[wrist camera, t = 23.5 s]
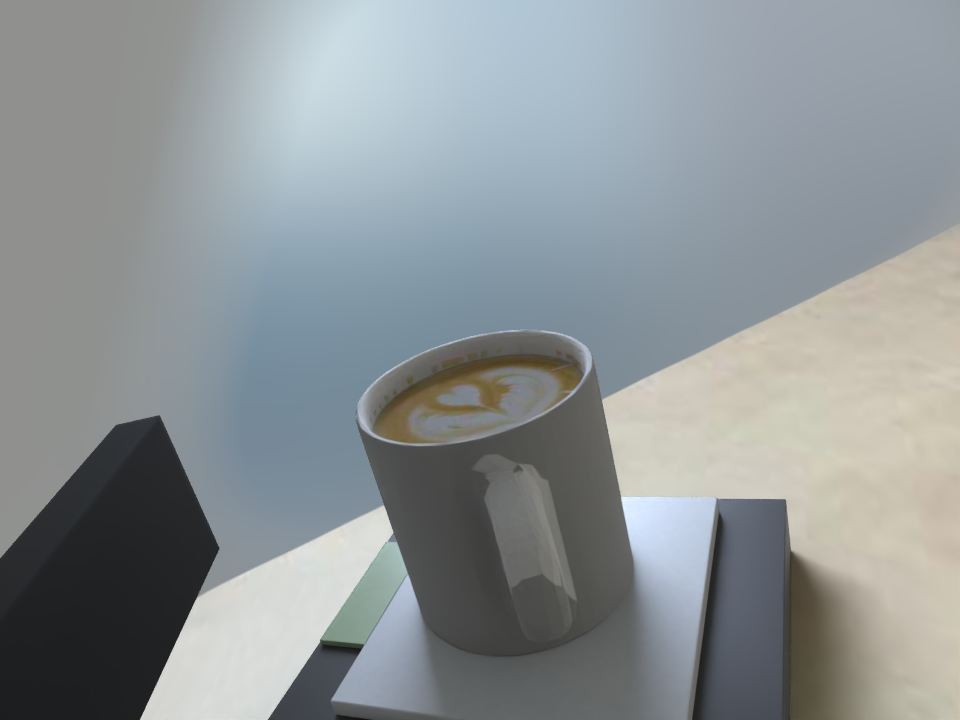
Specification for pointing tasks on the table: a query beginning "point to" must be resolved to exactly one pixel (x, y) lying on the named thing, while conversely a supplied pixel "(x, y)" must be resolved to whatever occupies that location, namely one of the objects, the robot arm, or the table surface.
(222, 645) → the table surface
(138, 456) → the robot arm
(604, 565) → the coffee mug
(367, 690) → the scale
